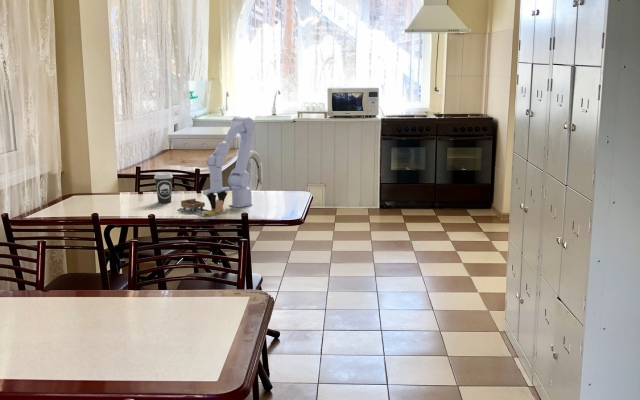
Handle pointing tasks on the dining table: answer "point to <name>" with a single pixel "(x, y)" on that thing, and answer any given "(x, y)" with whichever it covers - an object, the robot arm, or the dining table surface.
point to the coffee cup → (163, 186)
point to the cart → (192, 204)
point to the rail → (201, 212)
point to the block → (218, 205)
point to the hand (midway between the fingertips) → (217, 207)
